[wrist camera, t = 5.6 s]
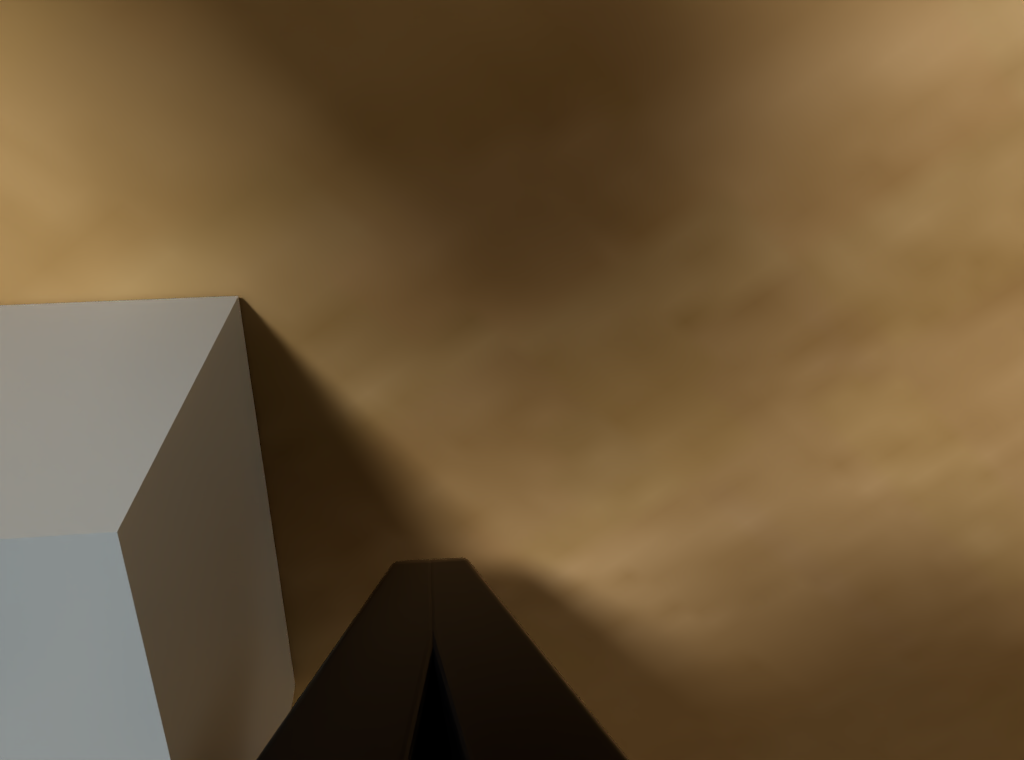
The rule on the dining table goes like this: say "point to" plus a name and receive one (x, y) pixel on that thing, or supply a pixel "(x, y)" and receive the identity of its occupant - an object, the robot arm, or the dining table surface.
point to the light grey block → (135, 537)
